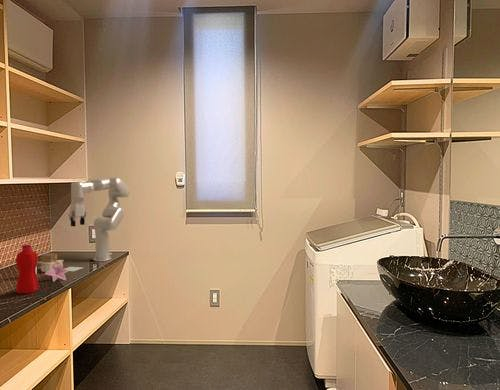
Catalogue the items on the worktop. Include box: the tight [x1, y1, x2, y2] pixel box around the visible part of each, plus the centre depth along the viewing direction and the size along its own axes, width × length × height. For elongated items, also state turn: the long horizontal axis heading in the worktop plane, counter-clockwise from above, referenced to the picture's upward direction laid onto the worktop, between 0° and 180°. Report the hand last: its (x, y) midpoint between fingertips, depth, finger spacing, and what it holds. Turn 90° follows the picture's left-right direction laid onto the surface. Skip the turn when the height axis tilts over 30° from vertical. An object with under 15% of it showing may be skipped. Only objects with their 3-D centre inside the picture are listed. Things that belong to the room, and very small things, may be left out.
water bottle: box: [15, 244, 39, 295], centre depth 211 cm, size 9×11×25 cm
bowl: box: [40, 263, 58, 273], centre depth 257 cm, size 9×9×6 cm
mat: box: [64, 266, 83, 272], centre depth 261 cm, size 11×11×1 cm
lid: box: [37, 253, 65, 265], centre depth 257 cm, size 12×12×5 cm
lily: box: [44, 261, 70, 282], centre depth 237 cm, size 12×12×10 cm
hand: (77, 225), depth 271 cm, fingers open, 9 cm apart
